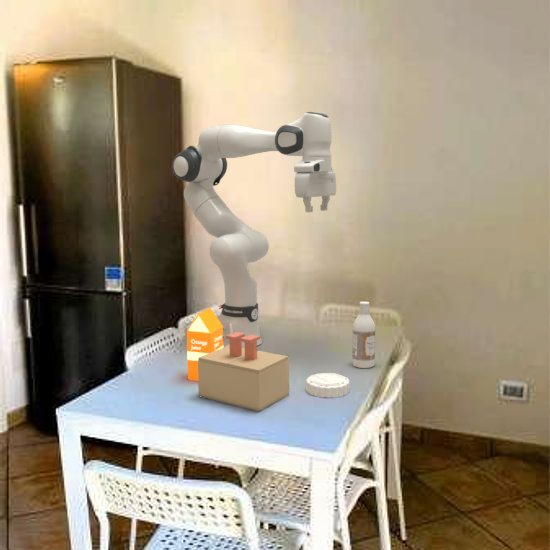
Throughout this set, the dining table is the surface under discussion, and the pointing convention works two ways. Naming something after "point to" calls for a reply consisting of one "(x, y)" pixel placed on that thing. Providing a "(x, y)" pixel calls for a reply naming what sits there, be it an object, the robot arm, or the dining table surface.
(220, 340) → the orange juice
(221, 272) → the robot arm
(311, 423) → the dining table surface
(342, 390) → the mooncake
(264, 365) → the flap right
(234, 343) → the flap left
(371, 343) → the bath foam
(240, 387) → the carton
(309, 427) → the dining table surface
